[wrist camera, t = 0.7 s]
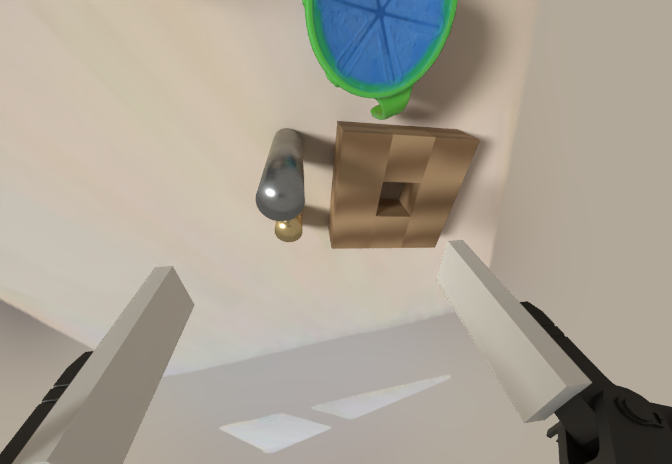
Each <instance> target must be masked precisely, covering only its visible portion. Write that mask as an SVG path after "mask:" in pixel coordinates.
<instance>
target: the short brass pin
mask: <svg viewBox="0 0 672 464" xmlns="http://www.w3.org/2000/svg"><path fill="white" fill-rule="evenodd" d="M275 234H276V236H277V237H278V238H279V239H280V240H282V241H285V242H293V241H296V240H298V239H299V238H300V237H301V235H302V212H301V213H300V214H299V215H298V216H297V217H296V218H294V219H291V220H288V221H276V225H275Z"/></svg>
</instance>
